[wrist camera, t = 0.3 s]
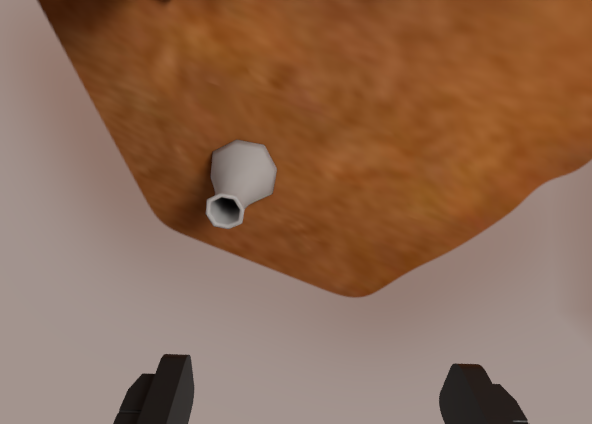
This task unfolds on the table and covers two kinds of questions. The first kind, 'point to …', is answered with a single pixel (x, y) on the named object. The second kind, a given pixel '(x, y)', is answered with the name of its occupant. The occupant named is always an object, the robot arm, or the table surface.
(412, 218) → the table surface
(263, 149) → the flask
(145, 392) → the robot arm
